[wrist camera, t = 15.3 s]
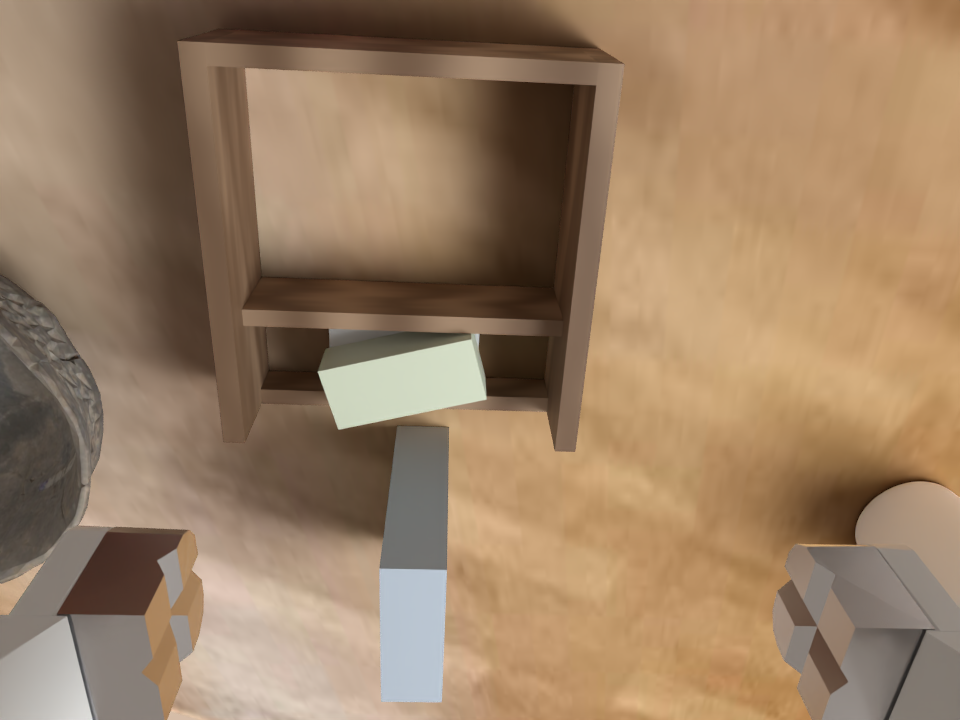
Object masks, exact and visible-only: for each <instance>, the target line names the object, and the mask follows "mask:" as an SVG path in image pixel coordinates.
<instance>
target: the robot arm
mask: <svg viewBox="0 0 960 720" xmlns="http://www.w3.org/2000/svg"><path fill="white" fill-rule="evenodd" d="M197 555H198V551H197V546H196V540H195V535H194V534H193V533H192V532H191V531H190V530H178V529H155V528H133V527H114V528H112V527H97V526H75V527H73V528H71V529H69V530H67V531H66V532H65V534H64V535H63V537H62V538H61V539H60V541H59V542H58V544H57V545H56V547H55V548H54V550H53V551H52V553H51V554H50V555H49V557H48V558H47V560H46V561H45V563H44V564H43V566H42V567H41V569H40V570H39V571H38V573H37V574H36V576H35V577H34V579H33V580H32V582H31V583H30V585H29V586H28V587H27V589H26V590H25V592H24V593H23V595H22V596H21V598H20V599H19V601H18V602H17V603H16V605H15V606H14V608H13V609H12V611H11V612H10V614H9V615H0V720H167V718H168V716H169V713H170V711H171V708H172V705H173V703H174V700H175V698H176V695H177V692H178V690H179V687H180V685H181V682H182V675H181V669H180V662H181V661H182V660H183V659H185V658H186V657H187V656H188V655H190V654H191V653H192V652H193V650H194V647H195V645H196V642H197V639H198V636H199V633H200V627H201V622H202V616H203V598H204V594H203V586H202V580H201V579H200V578H199V577H198V576H197V575H196V574H195V573H194V572H193V571H192V567H193V565H194V562H195V560H196V558H197ZM785 568H786V570H787V572H788V573H789V575H790V577H791V580H790V581H789V582H788V583H786V584H785V585H784V586H783V587H782V588H781V589H779V590H778V591H777V595H776V599H775V603H774V607H773V631H774V635H775V639H776V643H777V646H778V648H779V650H780V653H781V655H782V657H783V659H784V661H785V662H786V663H788V664H789V665H790V666H792V667H793V668H794V669H795V670H797V671H798V672H799V673H801V677H800V680H799V683H798V687H797V689H798V691H799V693H800V695H801V697H802V700H803V702H804V704H805V706H806V708H807V710H808V712H809V714H810V716H811V718H812V720H960V608H959V607H958V606H957V604H956V603H955V602H954V601H953V599H952V598H951V597H950V596H949V594H948V593H947V592H946V591H945V589H944V588H943V587H942V585H941V584H940V583H939V582H938V580H937V579H936V578H935V577H934V575H933V574H932V573H931V571H930V570H929V569H928V568H927V566H926V565H925V564H924V563H923V561H922V560H921V559H920V558H919V556H918V555H917V554H916V552H915V551H914V550H913V549H911V548H910V547H908V546H906V545H904V544H867V545H836V544H795V545H794V547H793V548H792V549H791V550H790V552H789V554H788V558H787V561H786V564H785Z"/></svg>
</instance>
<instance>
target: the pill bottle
mask: <svg viewBox="0 0 960 720" xmlns="http://www.w3.org/2000/svg"><path fill="white" fill-rule="evenodd" d="M855 539H856V543H857V545H867V544H904V545H906V546H908V547H910V548H911V549H913V550H914V551H915V552H916V554H917V555H918V556H919V558H920V559H921V560H922V561H923V563H924V564H925V565H926V566H927V568H928V569H929V570H930V571H931V573H932V574H933V575H934V577H935V578H936V579H937V580H938V582H939V583H940V584H941V585H942V587H943V588H944V589H945V591H946V592H947V593H948V594H949V596H950V597H951V598H952V599H953V601H954V602H955V603H956V604H957V606H958V607H959V608H960V498H959V497H958V496H957V495H956V494H954V493H953V492H952V491H951V490H949V489H948V488H946V487H944V486H942V485H939V484H936V483H932V482H924V481H917V482H909V483H904V484H900V485H897V486H895V487H892V488H890V489H888V490H886V491H884V492H883V493H881V494H880V495H878V496H877V497H876V498H874V499H873V500H872V501H871V502H870V503H869V504H868V505H867V506H866V507H865V509H864V510H863V511H862V513H861V515H860V517H859V519H858V521H857V524H856V529H855Z"/></svg>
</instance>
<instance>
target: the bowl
mask: <svg viewBox="0 0 960 720" xmlns="http://www.w3.org/2000/svg"><path fill="white" fill-rule="evenodd" d="M102 436H103V410H102V403H101V396H100V392H99V390H98V387H97V385H96V382H95V380H94V378H93V375H92V373H91V371H90V369H89V368H88V366H87V365H86V363H85V362H84V360H83V359H82V358H81V357H80V355H79V353H78V352H77V351H76V349H75V348H74V346H73V345H72V343H71V341H70V340H69V338H68V337H67V335H66V333H65V331H64V330H63V328H62V327H61V326H60V324H59V322H58V320H57V318H56V317H55V315H53V314H52V313H51V312H50V311H49V310H48V309H47V308H46V307H45V306H44V305H43V304H42V303H41V302H38V301H36V300H34V299H33V298H32V297H31V296H30V295H28V294H27V293H26V292H25V291H23V290H22V289H21V288H20V287H18V286H17V285H16V284H14V283H13V282H11V281H10V280H9V279H7V278H5V277H4V276H2V275H0V583H5V582H7V581H10V580H12V579H15V578H17V577H19V576H21V575H22V574H24V573H26V572H27V571H29V570H31V569H32V568H34V567H36V566H38V565H40V564H42V563H43V562H44V561H46V560H47V558H48V557H49V555H50V554H51V553H52V551H53V550H54V548H55V547H56V545H57V544H58V542H59V541H60V539H61V538H62V537H63V535H64V534H65V532H66V531H67V530H69V529H71V528H73V527H75V526H78V525H79V523H80V522H81V520H82V518H83V516H84V513H85V511H86V508H87V506H88V499H89V493H90V484H91V475H92V473H93V471H94V469H95V466H96V464H97V462H98V460H99V457H100V451H101V443H102Z"/></svg>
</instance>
